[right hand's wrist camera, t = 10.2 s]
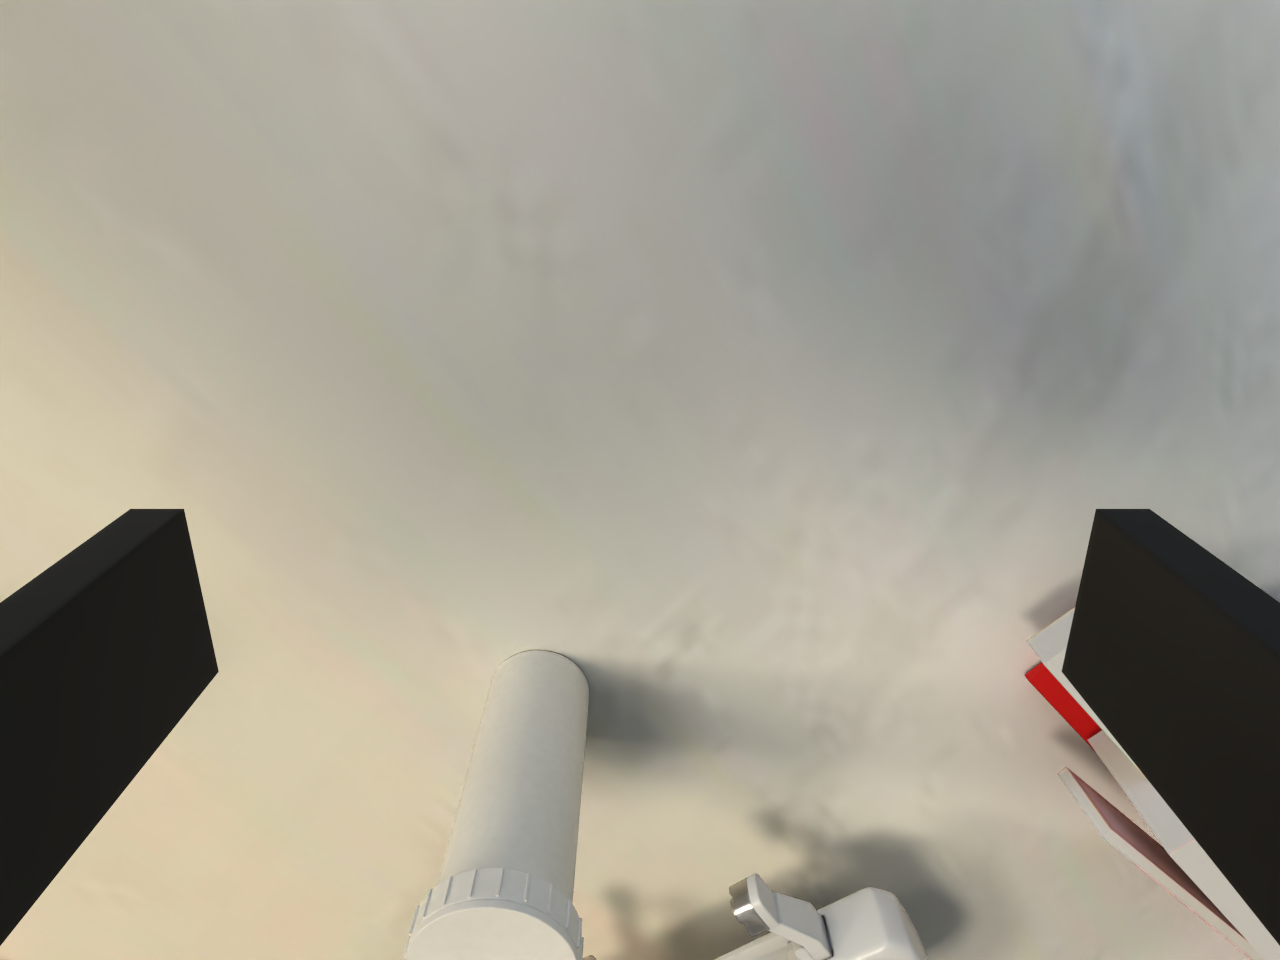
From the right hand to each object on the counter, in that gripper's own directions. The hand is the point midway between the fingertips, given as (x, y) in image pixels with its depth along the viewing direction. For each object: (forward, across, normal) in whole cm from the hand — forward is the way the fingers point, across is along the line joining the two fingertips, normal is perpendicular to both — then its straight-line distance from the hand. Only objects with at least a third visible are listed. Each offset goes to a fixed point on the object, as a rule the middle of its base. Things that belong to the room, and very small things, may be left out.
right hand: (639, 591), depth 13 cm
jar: (+25, +5, +20) cm, 32 cm away
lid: (+10, +5, +20) cm, 23 cm away
